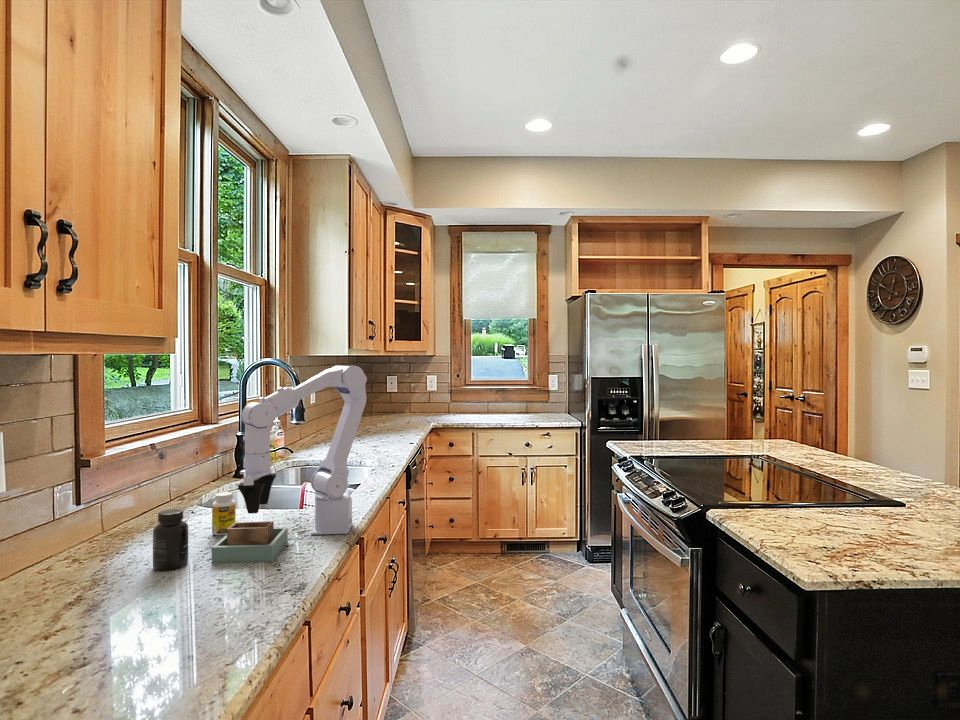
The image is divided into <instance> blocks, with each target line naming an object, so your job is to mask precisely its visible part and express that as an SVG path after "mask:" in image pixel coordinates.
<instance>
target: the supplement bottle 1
mask: <svg viewBox="0 0 960 720" xmlns="http://www.w3.org/2000/svg"><path fill="white" fill-rule="evenodd" d="M157 516H158V517H157V522H158V524H156V525H155V526H154V528H153V529H152V567H153V569H154V570H155V571H156V572H157V571H159V572H167V571H168V572H169V571H174V570H177V569H180V568H183V567H185V566H186V565H187V564H188V563H189V524H188V523H187V522H186V521H184V518H185V517H184V516H185V515H184V510H183V509H181V508H170V509H165V510H164V509H163V510H161V511H159V512H158V515H157Z"/></svg>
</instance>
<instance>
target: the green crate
mask: <svg viewBox="0 0 960 720" xmlns="http://www.w3.org/2000/svg"><path fill="white" fill-rule="evenodd" d="M288 531H289V530H288V527H274V540H273V541H272V542H271V543H270V544H269V545H240V546H227V535H224V536H223V538H221V539H220V540H218V541H217V542H216V543H215V544H214V545H213V546H212V547H211V564H212V565H217V564H218V565H220V564H250V563H253V564H254V563H256V564H257V563H273V561H274V560H275V559H276V557H277V556H278V555H279V554H280V552H281V551H282V550H283V549H282V548H284V547H285V546H286V545H287V544H288V540H289V539H288V538H289V537H288V535H289V533H288ZM286 543H287V544H286Z"/></svg>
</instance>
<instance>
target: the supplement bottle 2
mask: <svg viewBox="0 0 960 720" xmlns="http://www.w3.org/2000/svg"><path fill="white" fill-rule="evenodd" d="M214 499H215V500H214V501H213V502H212V505H211V534H212V535H213V536H218V537H219V536H223V537H224V536H226V535H227V529H228V528H229V527H230V526H231V525H232V524H234V523H235V522H236V501H235V500H234V499H233V493H232V492H230V491H228V492H227V491H226V492H224V491H223V492H218V493H216V494H215V498H214Z"/></svg>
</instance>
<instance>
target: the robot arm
mask: <svg viewBox="0 0 960 720" xmlns="http://www.w3.org/2000/svg"><path fill="white" fill-rule="evenodd" d="M367 380H368V377H367V376H366V374H365V372H364V370H363V369H362V368H361V367H360V366H357V365H342V364H337V365H334V366H332V367H331V368H327V369H324V370H323V371H321V372H319V373H318V374H316V375H314V376H312V377H311V378H309V379H307V380H306V381H304V382H303V383H300V384H298V385H297V386H295V387H293V388H291V387H288V386H280V387H278V388H276V391H275V392H273V393H271V394H268V395H267V396H265V397H264V396H261V397H260V398H258V400H259V401H258V402H249V403H247V405H246V404H245V406H244V408H243V410H242V412H241V414H240V415H239V416H240V420H241V421H242V422H243V424H244V469H242V470H240V471H239V475H244V476H243V481H242V482H240V483H239V484H238V485H237V486H238V488H237V489H238V490H239V492H240V494H241V495H242V497H243V500H244V503H245V507H246V511H247V514H258V513H259V510H260V505H268V503H269V500H270V499H269V498H270V495H271V489H272V486H273V483H274V481H275V479H276V478H277V474H276V473H274V472H272V468H271V467H272V465H271V425H272V423H273V422H274V419H277V418H279V417H281V416H282V415H285V414H286V413H289V412H290V411H292V410H293V409H295V408H297V407H298V405H299V404H300V402H301V400H302V399H304V398H306V397H308V396H310V395H312V394H315V393H317V392H319V391H321V390H323V389H325V388H329V387H330V388H331V387H333V389H335V390H336V391H337V392H338V393H339V394H340V396H341V398H342V400H343V401H344V403H343V407H342V410H341V413H340V415H339V419H338V422H337V424H336V428H335V430H334V434H333V436H332V439H331V443H330V445H329V449H328V452H327V455H326V457H325V458H324V459H323V460H322V461H321V462H320V463H319V464H318V468H317V469H316V470H315V471H314V473H313V474H312V476H311V478H310V486H311V488H312V489H313V491H315V492H314V494H315V495H314V527H313V529H312V530H311V532H310V535H344V534H345V535H346V534H349V532H350V530H351V528H352V526H353V502H352V501H353V500H352V496H350V495H349V496H348V495H344V494H345V493H346V492H347V491H348V487H349V486H348V485H349V483H348V482H349V481H348V476H349V474H350V471H349V468H348V465H347V461H348V458H349V455H350V453H351V449H352V446H353V444H354V440H355V437H356V434H357V431H358V427H359V424H360V422H361V419H362V415H363V413H364V410H365V406H366V404H367V391H366V390H367V389H366V383H367Z"/></svg>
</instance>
